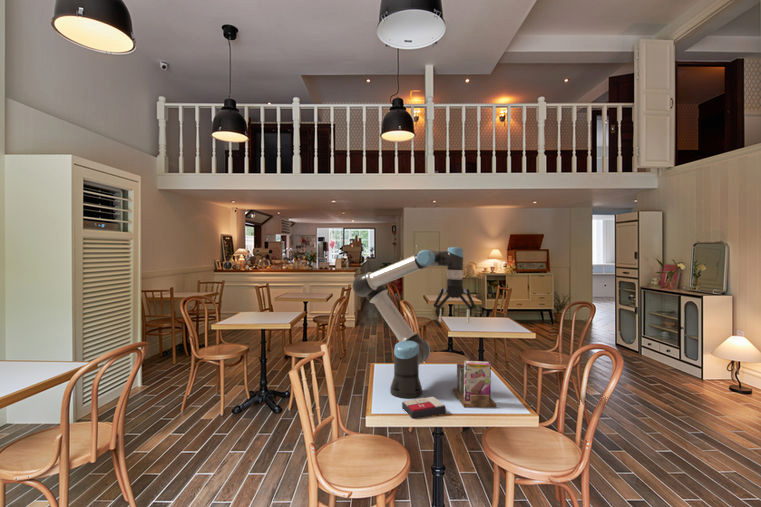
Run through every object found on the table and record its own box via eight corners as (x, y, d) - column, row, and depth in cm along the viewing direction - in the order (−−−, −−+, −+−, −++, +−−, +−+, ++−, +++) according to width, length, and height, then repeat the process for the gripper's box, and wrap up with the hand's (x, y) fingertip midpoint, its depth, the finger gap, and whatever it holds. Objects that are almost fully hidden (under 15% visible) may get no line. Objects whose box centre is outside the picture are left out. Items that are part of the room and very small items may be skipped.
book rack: (464, 407, 157) (464, 374, 157) (452, 390, 178) (452, 361, 178) (496, 407, 157) (496, 374, 158) (481, 390, 178) (481, 361, 179)
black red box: (401, 400, 155) (433, 395, 160) (402, 410, 155) (433, 404, 160) (412, 410, 145) (445, 404, 149) (412, 421, 145) (446, 414, 149)
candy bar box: (465, 401, 160) (465, 363, 161) (463, 396, 165) (463, 360, 166) (491, 402, 159) (491, 364, 160) (488, 398, 164) (488, 361, 165)
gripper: (430, 278, 176) (429, 322, 175) (482, 279, 175) (481, 324, 174) (428, 277, 183) (427, 320, 183) (478, 279, 183) (477, 321, 182)
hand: (454, 322), depth 179 cm, fingers open, 13 cm apart
